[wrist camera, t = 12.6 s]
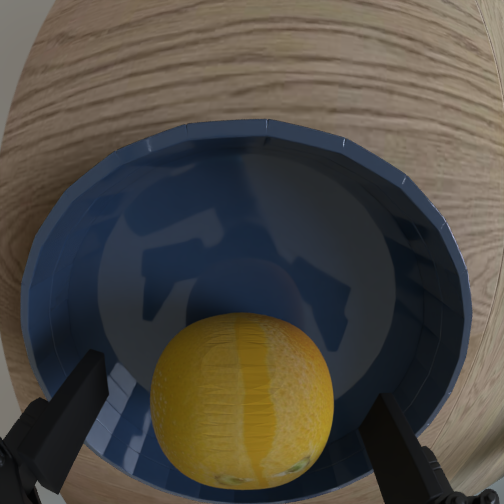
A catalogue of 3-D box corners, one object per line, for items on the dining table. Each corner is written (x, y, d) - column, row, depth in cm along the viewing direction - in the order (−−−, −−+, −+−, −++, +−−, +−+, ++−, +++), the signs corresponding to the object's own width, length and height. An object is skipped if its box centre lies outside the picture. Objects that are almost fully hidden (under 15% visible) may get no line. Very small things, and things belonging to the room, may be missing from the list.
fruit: (323, 394, 16) (353, 498, 9) (202, 416, 17) (186, 517, 9) (300, 267, 14) (350, 368, 6) (149, 302, 15) (79, 404, 7)
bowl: (89, 421, 19) (67, 461, 14) (78, 119, 13) (22, 107, 8) (348, 460, 20) (361, 501, 15) (465, 200, 14) (522, 213, 9)
